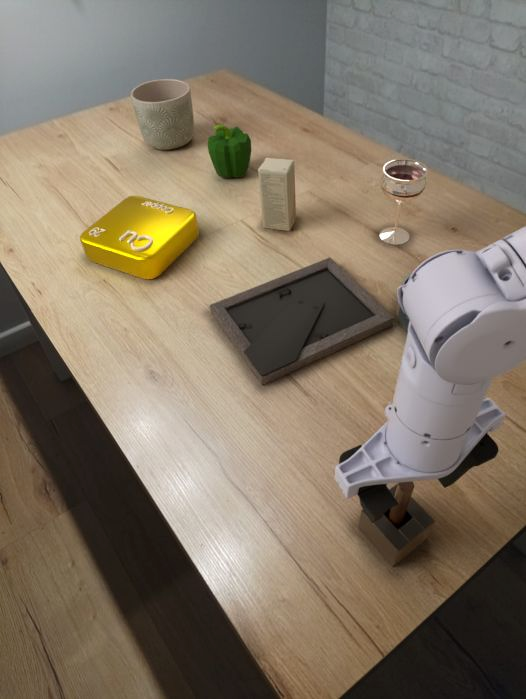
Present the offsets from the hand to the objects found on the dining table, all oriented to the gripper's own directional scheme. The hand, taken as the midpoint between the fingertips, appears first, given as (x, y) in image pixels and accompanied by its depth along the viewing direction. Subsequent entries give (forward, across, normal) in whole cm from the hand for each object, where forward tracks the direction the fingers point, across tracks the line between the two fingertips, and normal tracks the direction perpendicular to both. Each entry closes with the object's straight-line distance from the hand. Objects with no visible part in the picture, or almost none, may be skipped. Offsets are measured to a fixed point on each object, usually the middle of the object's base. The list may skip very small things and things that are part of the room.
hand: (405, 494), depth 47 cm
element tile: (+8, +10, -61) cm, 62 cm away
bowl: (+8, -23, -24) cm, 34 cm away
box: (+8, -13, -56) cm, 58 cm away
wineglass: (+9, -29, -43) cm, 52 cm away
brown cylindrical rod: (+8, 0, 0) cm, 8 cm away
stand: (+8, 0, 0) cm, 8 cm away
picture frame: (+8, -6, -32) cm, 34 cm away
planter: (+8, -6, -96) cm, 97 cm away
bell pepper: (+8, -13, -76) cm, 78 cm away
